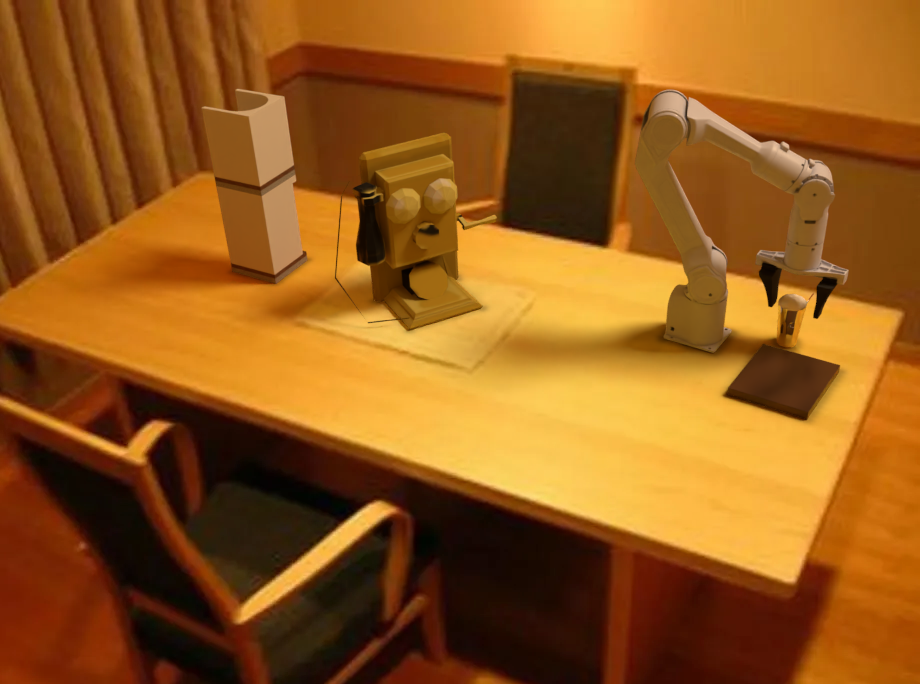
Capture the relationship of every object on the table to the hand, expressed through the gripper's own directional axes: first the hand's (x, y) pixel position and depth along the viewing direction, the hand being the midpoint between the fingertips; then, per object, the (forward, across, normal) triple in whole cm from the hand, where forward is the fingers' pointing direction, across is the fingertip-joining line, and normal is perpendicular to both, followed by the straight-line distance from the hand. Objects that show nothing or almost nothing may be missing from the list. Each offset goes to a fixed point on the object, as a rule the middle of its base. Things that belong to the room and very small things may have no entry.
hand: (794, 310), depth 181 cm
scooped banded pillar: (+6, +100, +24) cm, 103 cm away
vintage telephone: (+7, +63, +20) cm, 66 cm away
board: (+7, -3, +12) cm, 14 cm away
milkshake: (+7, 0, 0) cm, 7 cm away
